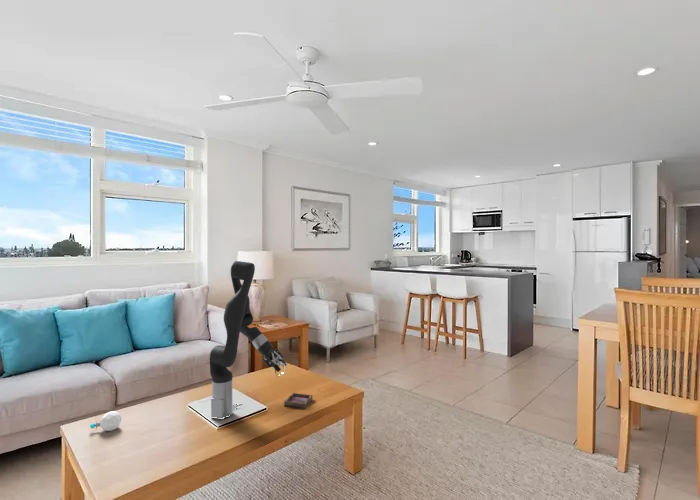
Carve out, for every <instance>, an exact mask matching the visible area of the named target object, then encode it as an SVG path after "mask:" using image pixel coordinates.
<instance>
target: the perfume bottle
mask: <svg viewBox="0 0 700 500" xmlns="http://www.w3.org/2000/svg"><path fill="white" fill-rule="evenodd" d="M121 422H122V415H121V414H120V413H119V412H118V411H114V410H113V411H111V410H110V411H108V412H107V413H105V414H103V415H102V417H101V418H100V420H99V422H97V421H95V423H91V424H90V425H89V427H90V429H97V428H98V427H100V428H101V429H102V430H104V432H113V431H114V430H116V429H117V428H119V426H120V424H121Z"/></svg>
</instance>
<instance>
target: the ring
mask: <svg viewBox="0 0 700 500" xmlns="http://www.w3.org/2000/svg"><path fill="white" fill-rule="evenodd" d="M276 364H277V365H278V366H279V367H280V365H281V366H282V368H283V370H282V372H281V374H280V373H279V374H277V371H276V370H275V368H274V367H273V374H274V375H275V376H276V377H277V378H280V377H282V376H283V375H284V374H285V372H286V368H287V366H285V364H284V363H283V362H279V361H277V362H276Z"/></svg>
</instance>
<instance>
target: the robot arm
mask: <svg viewBox="0 0 700 500" xmlns="http://www.w3.org/2000/svg"><path fill="white" fill-rule="evenodd" d="M255 267H256V266H255V263H253V262H247V261H238V260H235V261H233V263H232V265H231V267H230V278H231V282H232V288H233V292H234V295H233V296H232V297H231V298H230V299H229V300H228V301H227V302H226V305H225V308H224V313H223V324H224V328H225V330H226V341H225V345H215V346H214V347H213V348H212V349H211V350H210V353H209V369H210V370H209V372H210V376H211V397H212V398H210V410H211V411H210V412H211V413H210V416H211V417H217V418H223V417H226V416H229V415H231V414H232V412H233V411H234V410H233V373H232V371H231V370H229V368H231V367H232V366H233V365H234V363H235V361H236V359H237V354H238V346H239V338H240V334H242V335H243V336H245V337H246V338H248V340H249V341H250V343H252V345H253V347H254V348H255V349H256V350H257V351H258V353H259V354H260V355H261V356H264V357H263V358H262V360H263V361H264V362H265V364H266V365H267V366H268V367H269V368H273V369H274V368H275V370H276V373H279V372H280V371H281V370H282V369H281V367H280V366H278V364H276V363H277V362H278V361H279V362H283V363H284V364H285V367H287V363H286V362H285V361H284V360H283V359H284V355H283V354H282V353H281V352H280V350H279V349H278V348H276V349H273V348H274V345H273V344H272V342H270V340H269V339H268V337H266V336H265V335H264V334H263V333H262V332H261V329H259V328H258V327H257V326H253V327H249V326H251V325H252V324H253V322H254V317H253V313H252V311H251V303H250V297H249V293H250V289H251V286H252V282H253V279H254V275H255V273H256V272H255V271H256V268H255ZM241 281H243V282H242V283H241ZM276 361H277V362H276ZM232 415H233V414H232ZM232 415H231V416H232ZM211 417H210V418H211Z"/></svg>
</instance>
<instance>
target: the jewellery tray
mask: <svg viewBox="0 0 700 500" xmlns="http://www.w3.org/2000/svg"><path fill="white" fill-rule="evenodd" d="M312 401H313V395H312V394H305V393H304V394H303V393H298V392H292V393H291V394H290V395H289V396H288V397H287V398H286V399H285V400H284V402H283V404H284V405H283V407H287V408H292V409H299V410H300V409H301V410H305V409H306V408H307V407H308V406H309V404H310V403H311V402H312Z"/></svg>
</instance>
